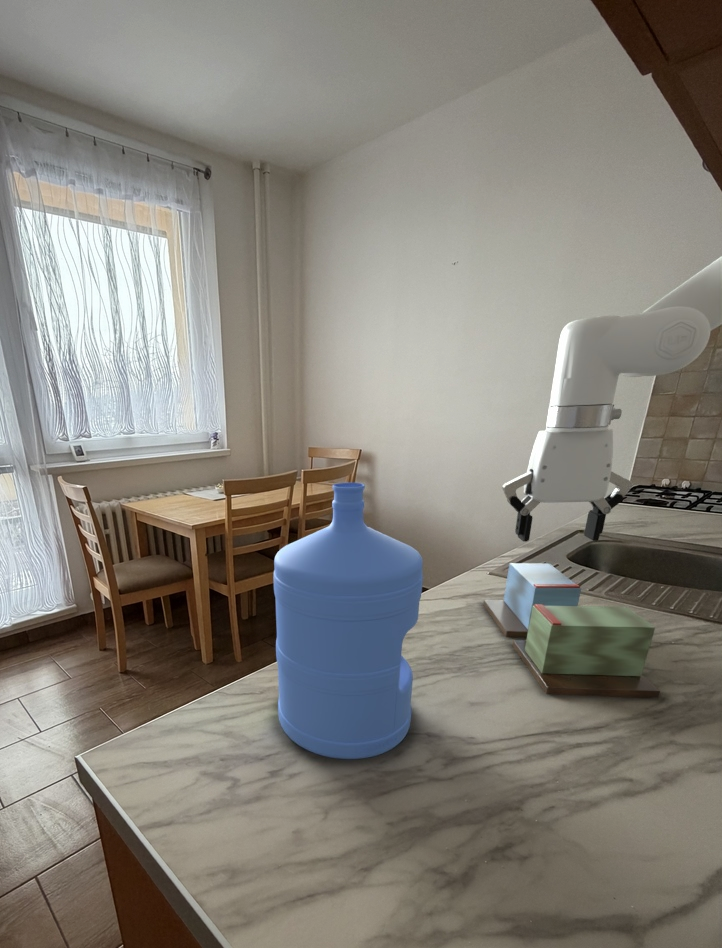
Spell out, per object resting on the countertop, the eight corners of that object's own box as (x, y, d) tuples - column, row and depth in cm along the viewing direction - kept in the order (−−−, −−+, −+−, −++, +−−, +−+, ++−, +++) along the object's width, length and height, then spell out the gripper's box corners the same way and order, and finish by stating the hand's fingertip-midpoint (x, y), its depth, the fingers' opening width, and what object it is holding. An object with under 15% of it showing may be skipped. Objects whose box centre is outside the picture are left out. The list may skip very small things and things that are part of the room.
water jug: (313, 781, 49) (312, 507, 38) (260, 700, 63) (248, 481, 52) (438, 740, 54) (468, 488, 44) (364, 674, 68) (373, 470, 57)
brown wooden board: (604, 651, 71) (606, 642, 71) (657, 701, 59) (660, 691, 59) (511, 648, 73) (513, 639, 72) (545, 697, 61) (547, 687, 61)
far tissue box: (503, 600, 86) (509, 561, 83) (542, 601, 85) (549, 562, 83) (527, 629, 75) (535, 586, 72) (572, 630, 74) (581, 586, 72)
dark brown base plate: (558, 608, 86) (560, 600, 85) (594, 641, 74) (596, 632, 74) (482, 607, 88) (483, 599, 87) (505, 639, 76) (506, 631, 75)
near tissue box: (614, 652, 68) (626, 604, 65) (641, 676, 62) (656, 625, 59) (524, 650, 69) (532, 603, 67) (541, 673, 63) (552, 623, 61)
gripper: (631, 415, 69) (606, 532, 76) (503, 421, 72) (490, 533, 78) (662, 417, 62) (632, 545, 69) (520, 423, 65) (503, 546, 71)
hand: (556, 538), depth 74 cm, fingers open, 9 cm apart
